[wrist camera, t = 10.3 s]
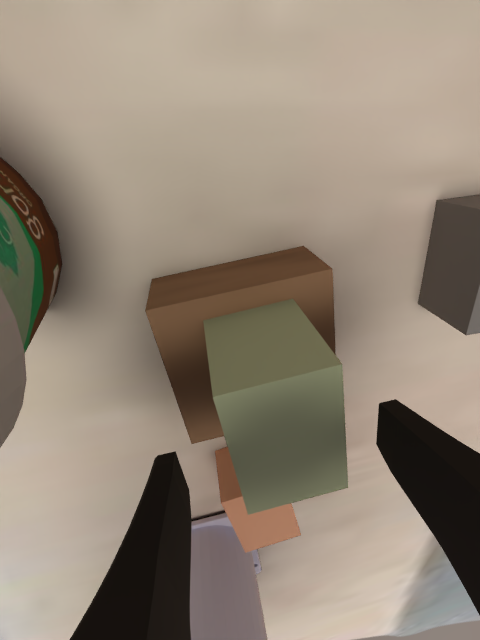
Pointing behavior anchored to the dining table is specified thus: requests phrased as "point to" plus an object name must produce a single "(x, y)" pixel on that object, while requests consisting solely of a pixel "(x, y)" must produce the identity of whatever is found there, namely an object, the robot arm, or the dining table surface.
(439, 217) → the charcoal brick
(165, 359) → the walnut block
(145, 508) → the robot arm
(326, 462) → the sage brick
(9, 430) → the food container
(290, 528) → the terracotta brick
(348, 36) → the dining table surface
